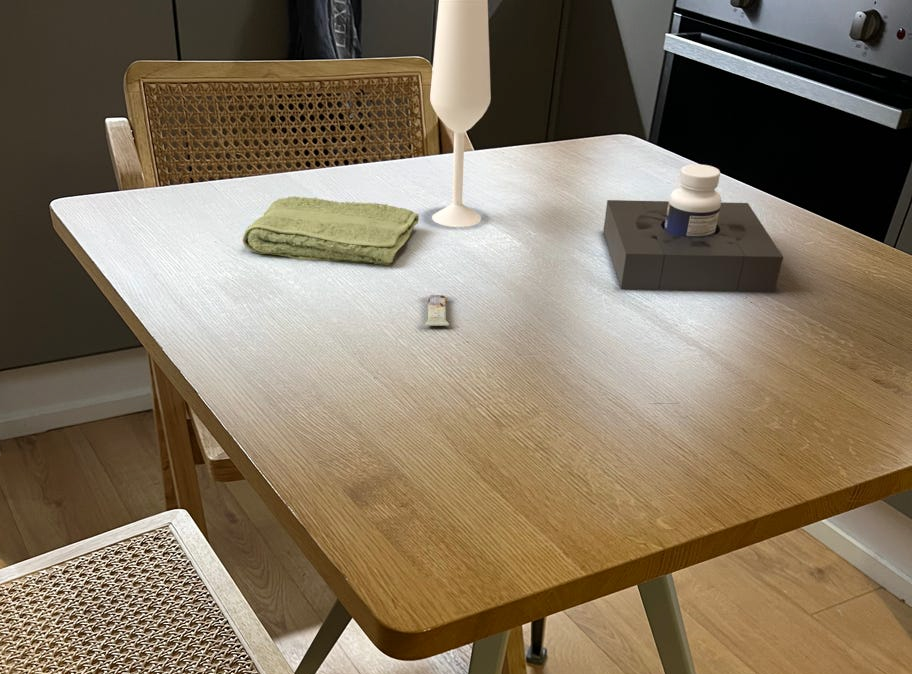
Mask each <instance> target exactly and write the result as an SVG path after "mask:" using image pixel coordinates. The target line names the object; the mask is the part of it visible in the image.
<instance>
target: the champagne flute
mask: <svg viewBox="0 0 912 674" xmlns="http://www.w3.org/2000/svg"><path fill="white" fill-rule="evenodd" d="M436 17H437V18H436V28H435V29H436V30H435V38H434V39H435V40H434V50H433V59H432V60H433V62H432V69H431V71H432V72H431V83H430V92H429V93H430V94H429V99H430V101H429V102H430V104H431V107H432V109H433V111H434V112H435V114H436V115H437V117H438V118H439V119H440V121H442V123H443V124H444V125H445V126H446V128H448V129H449V130H450V131H452V132H453V163H452V192H451V193H452V194H451V196H452V197H451V199H452V201H451V203H450V204H448V205H447V206H445V207H444V208H441V209H440V210H439V211H437V212H435V213H434V214H433V215H432V217H431V218H432V221H433V222H435V223H437V224H438V225H442V226H445V227H453V228H465V227H470V226H474V225H477V224H479V223H480V222H481V221H482V217H481V216H480V215H479V214H478V213H477V212H476V211H474V210H472V209H471V208H469V207H468V206H466V205H465V204H463V187H464V161H465V160H464V158H465V133H466V132H468V131H469V130H470V129H472V128H473V127H474V126H475V125H476V123H478V122H479V121H480V120H481V119H482V118H483V116H484V115H485V113H486V112H487V111H488V108H489V106H490V104H491V99H492V98H491V94H492V93H491V66H490V65H491V64H490V35H489V34H490V32H489V30H490V29H489V3H488V0H438V7H437V16H436Z"/></svg>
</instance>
